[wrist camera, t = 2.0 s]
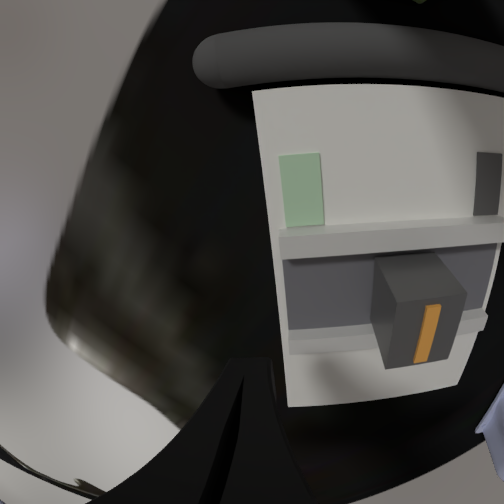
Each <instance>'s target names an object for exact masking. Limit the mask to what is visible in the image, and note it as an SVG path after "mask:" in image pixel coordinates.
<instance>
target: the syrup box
mask: <svg viewBox="0 0 504 504" xmlns="http://www.w3.org/2000/svg"><path fill="white" fill-rule="evenodd" d="M413 1H415V2H416V3H418V4H421V3H423V2H425V1H426V0H413Z"/></svg>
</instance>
